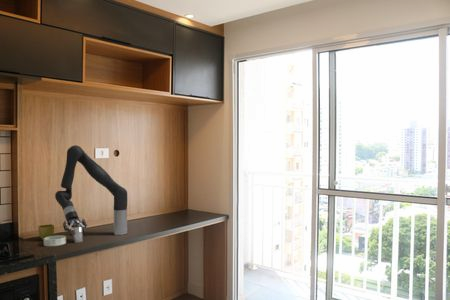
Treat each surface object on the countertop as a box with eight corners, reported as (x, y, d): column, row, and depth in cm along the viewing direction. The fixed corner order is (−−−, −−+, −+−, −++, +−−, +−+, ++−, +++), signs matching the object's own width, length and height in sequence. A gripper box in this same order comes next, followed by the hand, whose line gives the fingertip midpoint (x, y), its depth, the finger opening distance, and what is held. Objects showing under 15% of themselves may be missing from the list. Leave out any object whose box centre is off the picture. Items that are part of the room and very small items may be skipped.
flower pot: (40, 241, 242) (40, 227, 242) (37, 239, 249) (37, 225, 249) (54, 239, 247) (54, 226, 247) (51, 237, 254) (51, 224, 254)
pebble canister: (74, 241, 241) (74, 225, 241) (83, 240, 242) (83, 225, 242) (73, 243, 236) (73, 227, 236) (81, 242, 237) (81, 227, 237)
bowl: (47, 242, 239) (47, 235, 239) (68, 240, 242) (68, 234, 242) (41, 246, 226) (41, 240, 226) (63, 245, 229) (63, 239, 229)
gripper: (61, 212, 239) (69, 232, 231) (82, 209, 250) (90, 228, 242) (58, 219, 243) (65, 239, 235) (79, 216, 253) (87, 235, 245)
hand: (78, 233), depth 238 cm, fingers open, 8 cm apart
